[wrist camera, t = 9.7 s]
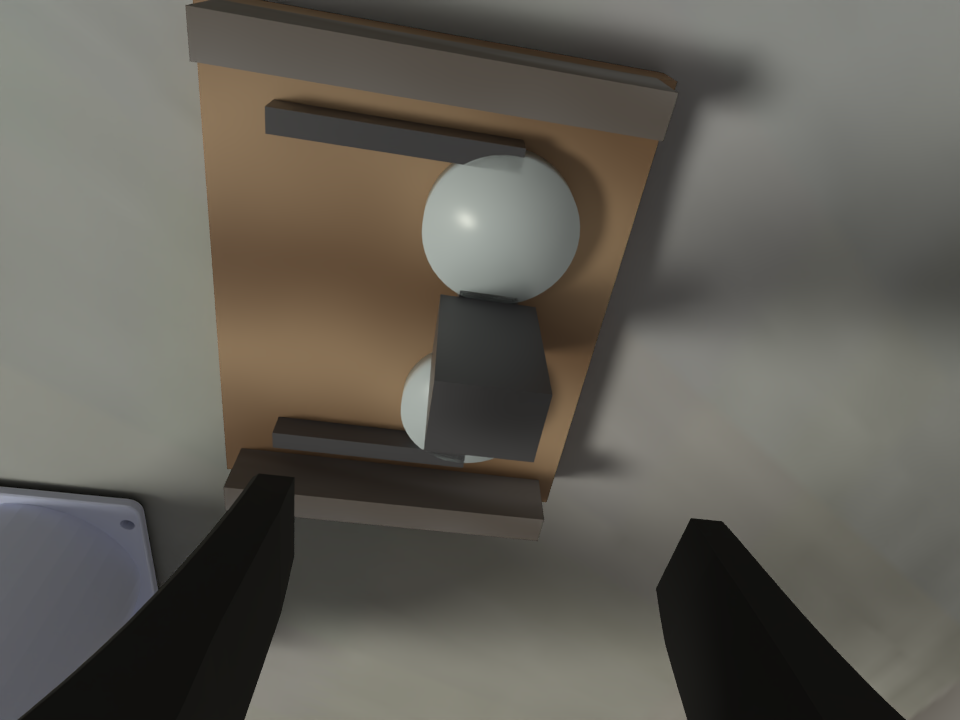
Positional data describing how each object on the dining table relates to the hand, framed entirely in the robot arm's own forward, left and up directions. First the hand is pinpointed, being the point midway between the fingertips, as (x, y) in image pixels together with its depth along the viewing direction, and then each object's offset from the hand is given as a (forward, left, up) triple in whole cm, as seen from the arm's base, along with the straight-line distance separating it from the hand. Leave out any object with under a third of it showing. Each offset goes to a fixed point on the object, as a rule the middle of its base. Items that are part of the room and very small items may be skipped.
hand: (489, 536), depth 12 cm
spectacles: (0, +2, -8) cm, 8 cm away
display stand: (0, +2, -9) cm, 9 cm away
